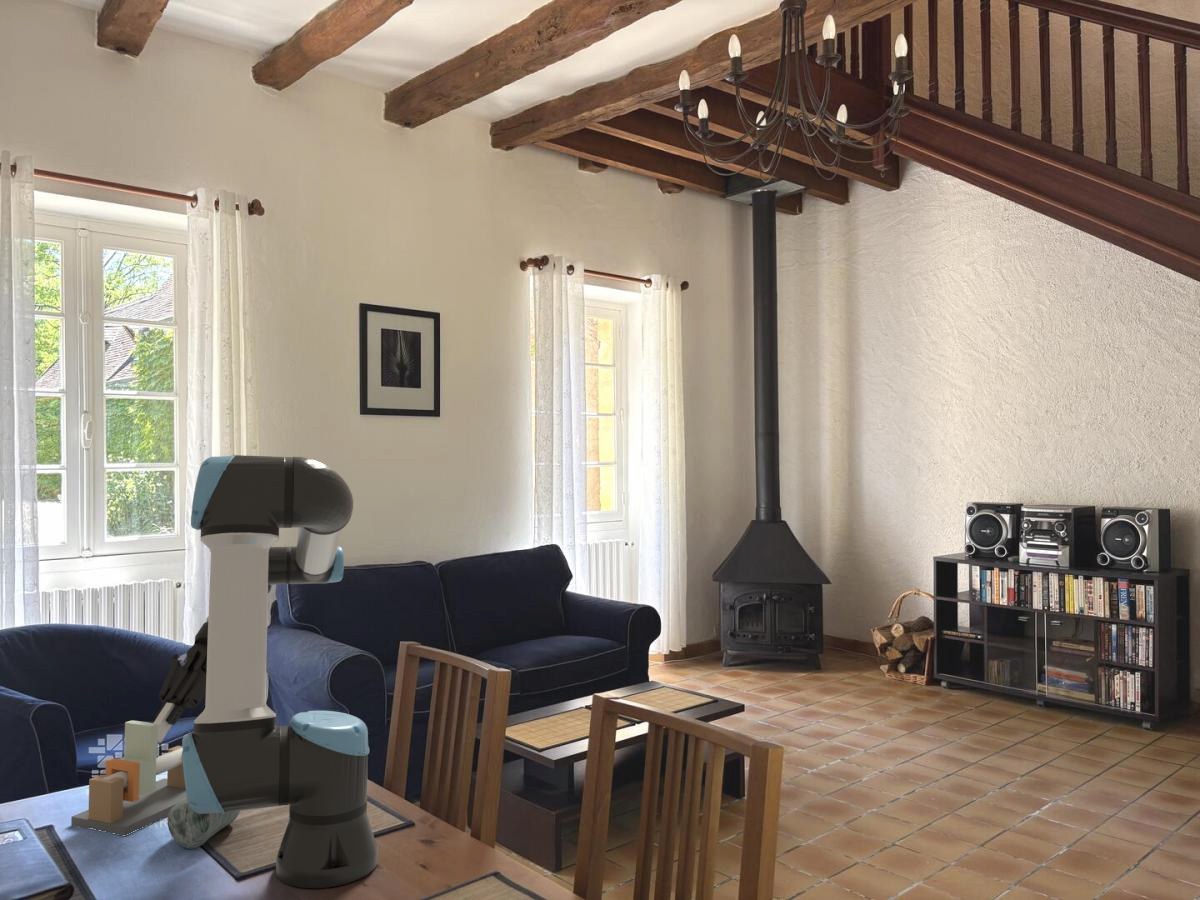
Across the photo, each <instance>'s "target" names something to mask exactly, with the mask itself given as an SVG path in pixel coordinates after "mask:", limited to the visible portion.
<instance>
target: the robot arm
mask: <svg viewBox="0 0 1200 900" xmlns="http://www.w3.org/2000/svg"><path fill="white" fill-rule="evenodd" d="M191 508H192V509H191V515H190V525H191V529H193V530H196V531H199V530H200V541H201V543H203V544H204V546H206V547H207V548H208V549H209V551H210V557H209V559H210V562H209V590H208V594H209V595H208V596H209V597H208V616H207V617H206V619H205V622H204V623H203V624H202V626H201V627H200V628H199V630H198V632H197V633H196V634H195V637H194V644H193V645H192V646H191V647H190V648H188V650H187V651H186V653H184V654H181V655H179V654H178V653H175V654H174V655H173V656H172V657H171V658H172V659H171V665H170V668H169V670H168V673H167V675H166V677H165V680H164V682H163V684H162V687H161V689H160V691H159V693H158V699H159V700H161V702H162V703H163V704H162V705H161V707H160V708H159V710H158V711H157V713H156V715H155V716H154V719H155V720H154V722H153V723H155V724H158V743H157V744H162V742H163V740H164V739H165V737H166V735H167V733H168V732H169V731H170V729H171V727H172V726H174V725H175V724H176V723H177V721H178V720H179V718H180V717H181V715H182V714H183V712H184V711H186V710H187V709H189V708H191V709H195V708H197V707H198V706H199V704H200V703H201V702H202V701H203V699H204V698H205V704H204V705H205V708H204V709H203V711H202V712H201V713H200V714H199V715H198V716H197V717H196V718H195V719H194V720H193V732H192V731H190V732H188V733H186V734H184V735H183V737H182V741H181V742H182V744H181V746H182V748H183V770H184V780H185V787H186V794H187V799H188V803H189V806H190V808H191V809H192V810H193V811H194V812H196V813H199V814H208V813H222V814H225V813H227V812H230V811H239V810H240V811H247V810H255V809H265V808H273V807H282V806H289V811H288V812H289V813H288V814H289V815H288V822H287V826H286V828H285V831H284V834H283V837H282V840H281V842H280V846H279V849H278V851H277V854H276V858H275V859H276V861H275V863H276V864H275V874H276V877H277V878H278V880H279V881H281V882H282V883H284V884H286V885H289V886H292V887H295V888H296V887H297V888H303V889H324V888H332V887H333V888H334V887H339V886H342V885H343V886H344V885H346V884H350V883H353V882H356V881H358V880H360V879H362V878H364V877H365V876H367V875H369V874H370V873H371V872H372V871H374V869H375V868H376V866H377V865H378V858H379V857H378V856H379V855H378V853H379V852H378V849H379V848H378V843H377V841H376V839H375V836H374V832H373V828H372V825H371V822H370V819H369V815H368V766H369V765H368V763H369V762H368V759H369V756H368V755H369V754H370V747H369V737H368V735H369V732H368V731H369V730H368V726H367V725H366V723H365V722H364V721H363V720H362V719H361V718H359V717H357V716H354V715H352V714H349V713H345V712H339V711H333V710H308V711H306V712H304V711H303V712H302V711H300V712H298V713H296V714H294V715H293V716H292V717H291V719H290V720H289V725H279V726H277V713H275V712H274V711H273V710H272V709H271V708H270V707H269V706H268V704H267V655H268V652H267V650H268V608H269V607H268V603H269V602H268V601H269V600H268V599H269V597H268V596H269V594H270V592H271V590H272V588H273V587H272V586H273V585H274V586H275V585H306V584H307V585H308V584H311V585H312V584H321V585H322V584H323V585H325V584H330V583H338V582H341V581H342V579H343V578H344V572H345V571H344V568H345V567H344V565H345V557H344V556H345V555H344V550H343V548H342V547H341V546H339V542H340V539H341V535H342V531H343V529H344V528H346V526H347V525H348V524H349V522H350V520H351V517H352V515H353V512H354V511H353V510H354V498H353V493H352V492H351V489H350V487H349V486H348V484H347V482H346V481H345V479H344V478H343V477H342V476H341V475H340V474H339V473H338V472H336V470H334V469H333V468H332V467H330V466H328V465H326V464H325V463H323V462H320V461H318V460H316V459H313V458H310V457H309V458H308V457H305V456H273V455H271V456H267V455H239V454H232V455H223V456H222V455H221V456H220V455H219V456H210V457H208V458H206V459H204V461H202V463H201V465H200V467H199V471H198V474H197V478H196V482H195V488H194V492H193V497H192V505H191ZM291 528H298V531H297V539H296V540H297V542H296V546H274V545H275V543H277V542H278V541H279V539H280V529H291Z"/></svg>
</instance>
